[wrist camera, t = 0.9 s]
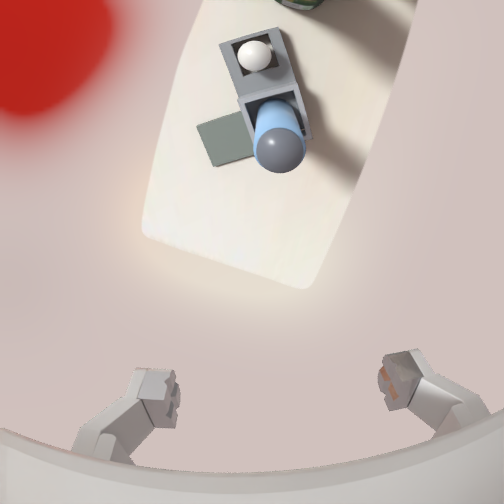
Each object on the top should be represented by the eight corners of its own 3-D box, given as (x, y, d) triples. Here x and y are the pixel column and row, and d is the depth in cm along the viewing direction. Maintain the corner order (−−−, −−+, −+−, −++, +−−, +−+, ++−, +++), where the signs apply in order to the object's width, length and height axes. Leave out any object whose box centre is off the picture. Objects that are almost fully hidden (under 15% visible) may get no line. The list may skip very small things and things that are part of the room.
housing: (220, 44, 34) (215, 44, 30) (277, 27, 32) (278, 25, 29) (256, 142, 43) (256, 153, 40) (309, 129, 42) (313, 138, 38)
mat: (197, 125, 42) (196, 126, 41) (241, 110, 40) (241, 111, 40) (213, 165, 46) (213, 166, 46) (256, 152, 44) (256, 154, 44)
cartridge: (252, 103, 38) (245, 135, 26) (288, 93, 36) (299, 121, 25) (263, 135, 41) (262, 181, 29) (298, 126, 40) (312, 169, 28)
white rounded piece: (235, 46, 32) (233, 46, 30) (265, 37, 31) (265, 36, 29) (245, 72, 35) (243, 74, 32) (274, 64, 34) (275, 65, 31)
